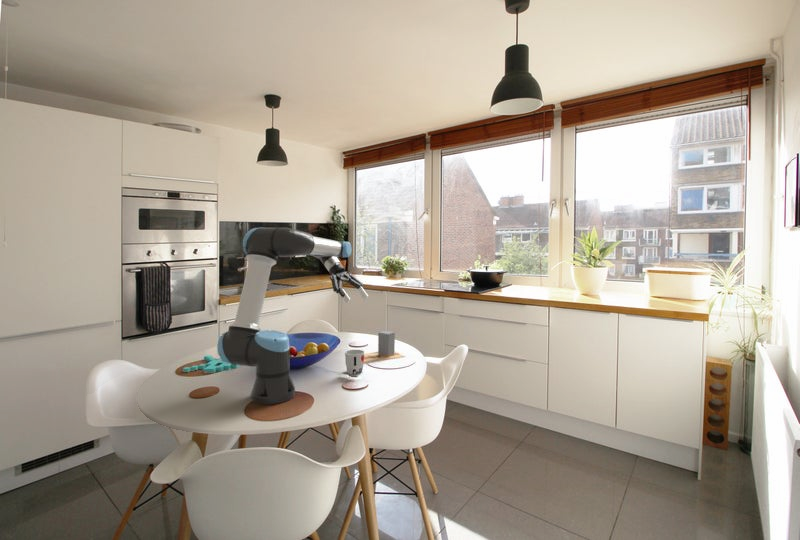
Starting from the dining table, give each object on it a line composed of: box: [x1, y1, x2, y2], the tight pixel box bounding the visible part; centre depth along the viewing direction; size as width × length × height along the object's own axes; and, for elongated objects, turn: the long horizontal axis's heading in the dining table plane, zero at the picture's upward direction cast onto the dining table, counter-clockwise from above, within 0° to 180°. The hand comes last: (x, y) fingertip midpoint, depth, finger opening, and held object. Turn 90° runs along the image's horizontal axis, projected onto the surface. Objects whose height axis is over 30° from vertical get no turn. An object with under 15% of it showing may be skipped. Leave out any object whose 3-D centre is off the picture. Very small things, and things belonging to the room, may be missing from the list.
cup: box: [344, 349, 365, 378], centre depth 169 cm, size 8×8×10 cm
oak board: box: [363, 350, 406, 365], centre depth 192 cm, size 14×24×2 cm, turn 121°
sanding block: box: [377, 330, 396, 357], centre depth 194 cm, size 6×5×11 cm
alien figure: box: [182, 354, 241, 374], centre depth 182 cm, size 20×2×20 cm
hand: (357, 299), depth 198 cm, fingers open, 13 cm apart
